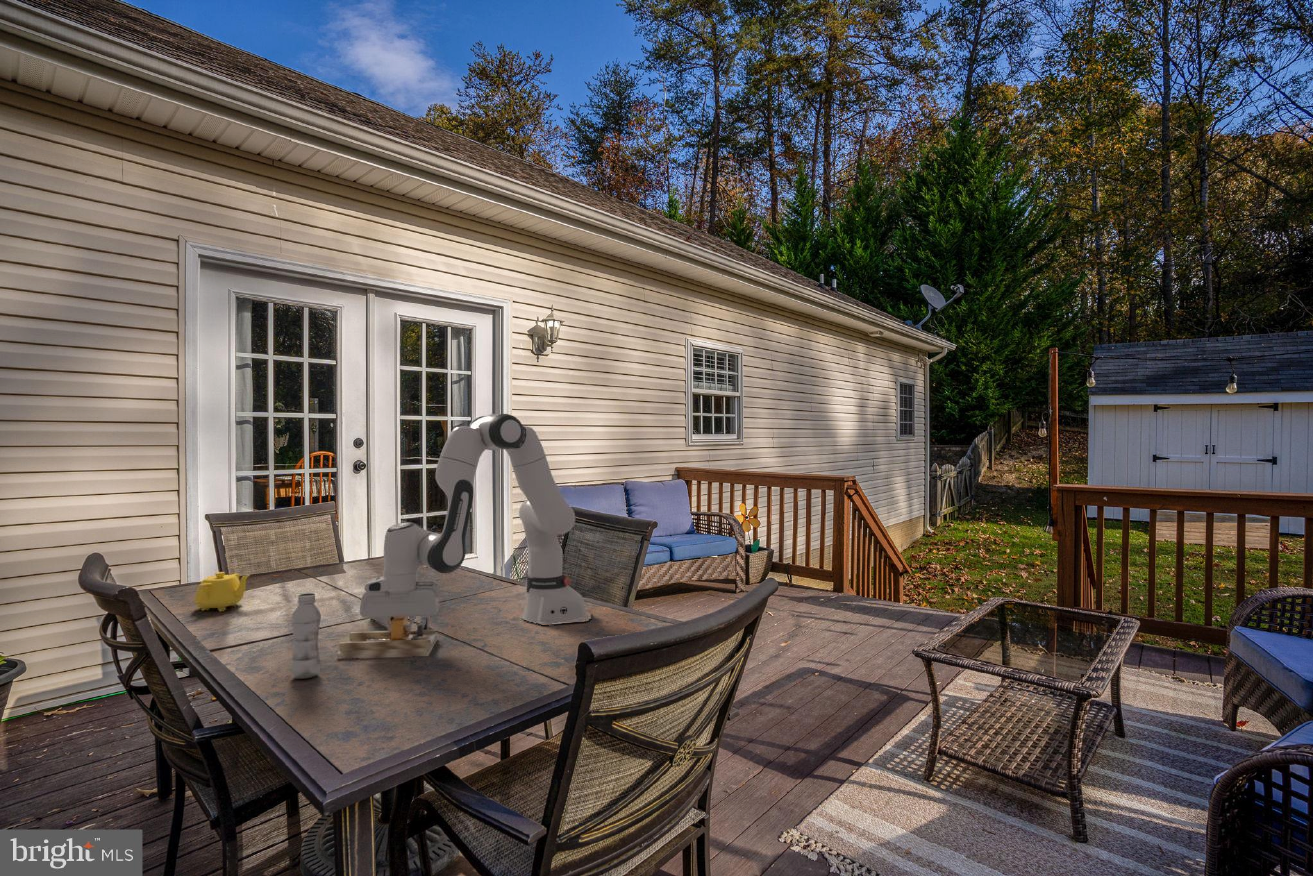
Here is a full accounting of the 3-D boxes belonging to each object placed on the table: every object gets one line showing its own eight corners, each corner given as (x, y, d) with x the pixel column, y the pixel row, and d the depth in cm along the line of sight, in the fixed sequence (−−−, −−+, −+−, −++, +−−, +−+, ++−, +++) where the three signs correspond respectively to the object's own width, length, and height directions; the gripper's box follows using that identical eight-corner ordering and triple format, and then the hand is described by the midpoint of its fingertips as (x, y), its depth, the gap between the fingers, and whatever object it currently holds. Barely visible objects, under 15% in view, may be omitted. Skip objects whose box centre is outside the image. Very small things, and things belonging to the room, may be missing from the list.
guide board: (437, 639, 186) (437, 627, 186) (428, 656, 172) (428, 643, 172) (352, 642, 182) (353, 629, 182) (336, 659, 168) (337, 646, 168)
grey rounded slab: (406, 627, 197) (396, 598, 195) (391, 635, 194) (381, 605, 191) (386, 615, 209) (376, 587, 207) (372, 622, 206) (361, 594, 204)
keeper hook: (428, 634, 186) (428, 617, 186) (422, 643, 178) (423, 625, 178) (421, 634, 185) (422, 617, 185) (416, 643, 177) (416, 625, 177)
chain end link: (435, 637, 182) (435, 613, 182) (430, 645, 175) (431, 620, 175) (369, 639, 179) (370, 614, 179) (362, 648, 172) (362, 622, 172)
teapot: (199, 616, 203) (200, 579, 203) (190, 607, 213) (190, 572, 213) (250, 608, 213) (250, 573, 213) (239, 600, 223) (239, 566, 223)
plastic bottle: (299, 684, 151) (301, 599, 151) (284, 678, 155) (285, 595, 155) (326, 676, 156) (327, 594, 156) (310, 670, 160) (312, 590, 160)
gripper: (441, 578, 182) (440, 627, 182) (364, 580, 179) (364, 629, 179) (437, 584, 176) (436, 634, 176) (358, 585, 172) (357, 636, 172)
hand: (399, 632), depth 177 cm, fingers closed on chain end link, 3 cm apart
